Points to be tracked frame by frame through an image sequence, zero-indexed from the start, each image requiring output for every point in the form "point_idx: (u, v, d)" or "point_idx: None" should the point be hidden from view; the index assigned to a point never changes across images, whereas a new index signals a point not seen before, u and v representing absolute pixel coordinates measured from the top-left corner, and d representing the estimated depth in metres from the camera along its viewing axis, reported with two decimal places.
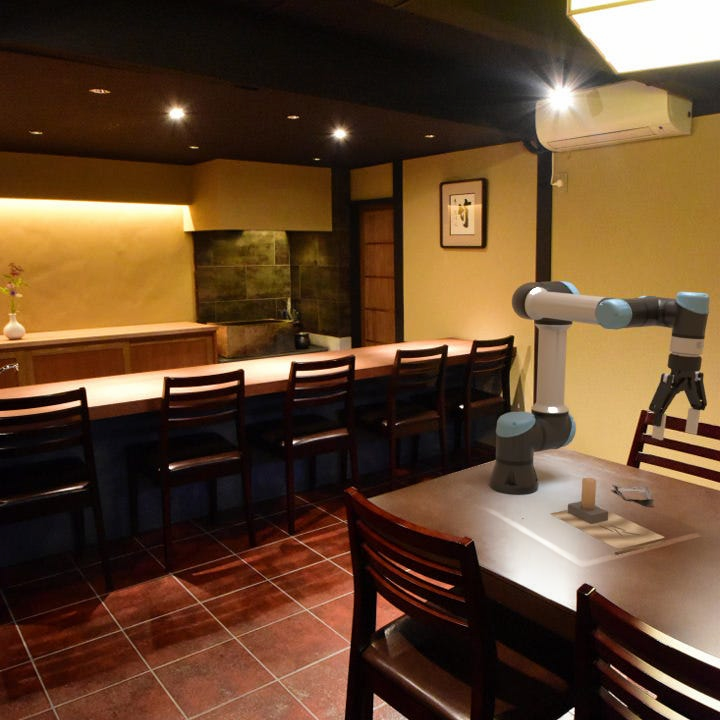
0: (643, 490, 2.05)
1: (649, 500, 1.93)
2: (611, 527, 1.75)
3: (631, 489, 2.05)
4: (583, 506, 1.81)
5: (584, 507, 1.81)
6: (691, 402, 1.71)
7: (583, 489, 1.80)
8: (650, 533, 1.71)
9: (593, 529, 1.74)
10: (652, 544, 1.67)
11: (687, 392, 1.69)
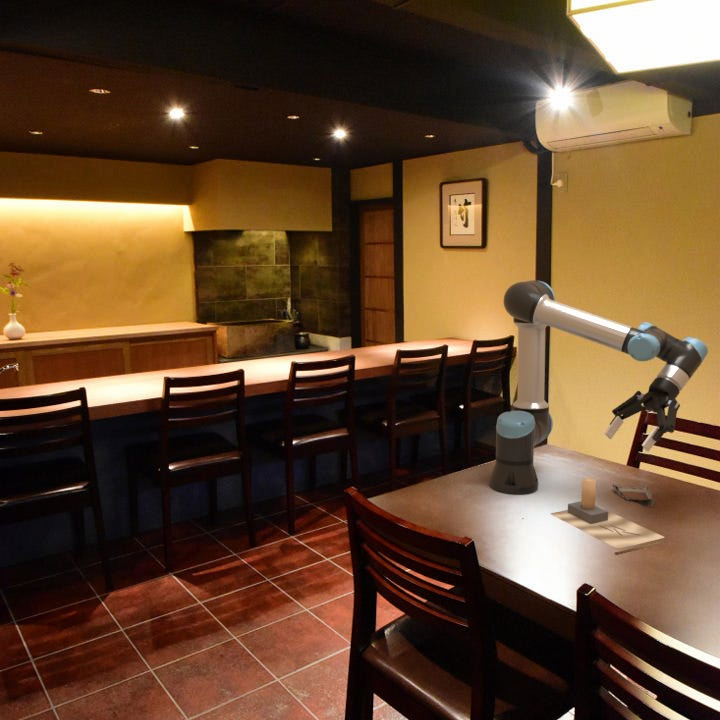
0: (643, 490, 2.05)
1: (649, 500, 1.93)
2: (611, 527, 1.75)
3: (631, 489, 2.05)
4: (583, 506, 1.81)
5: (584, 507, 1.81)
6: (624, 413, 1.91)
7: (583, 489, 1.80)
8: (650, 533, 1.71)
9: (593, 529, 1.74)
10: (652, 544, 1.67)
11: (637, 408, 1.89)
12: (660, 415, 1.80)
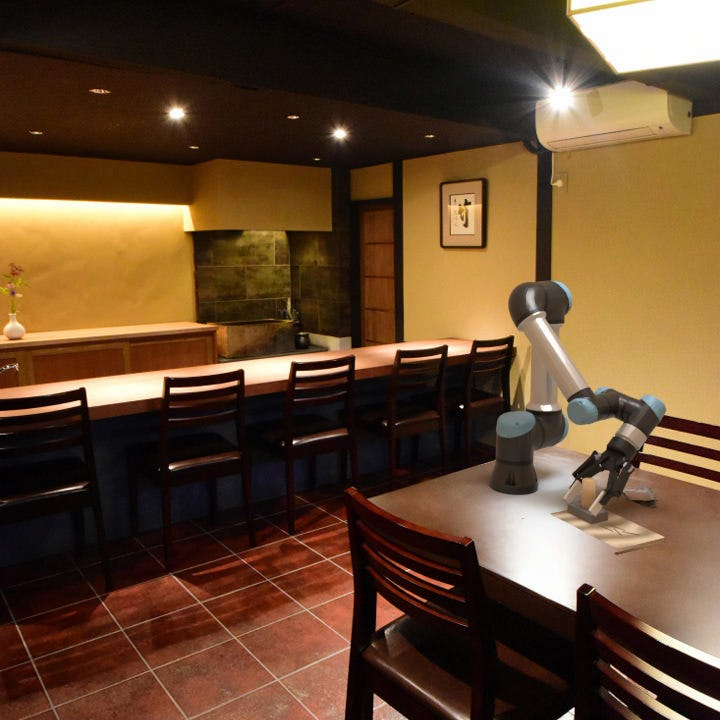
0: (646, 490, 2.04)
1: (653, 500, 1.92)
2: (611, 527, 1.75)
3: (634, 489, 2.05)
4: (583, 506, 1.81)
5: (584, 507, 1.81)
6: (584, 476, 1.86)
7: (583, 489, 1.80)
8: (650, 533, 1.71)
9: (593, 529, 1.74)
10: (652, 544, 1.67)
11: (596, 469, 1.85)
12: (611, 478, 1.78)
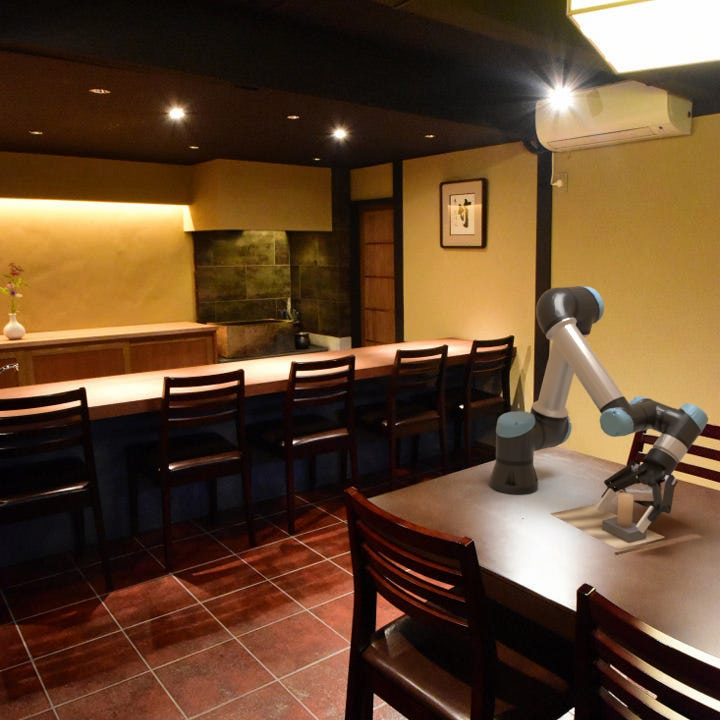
0: (651, 491, 2.04)
1: None
2: None
3: (639, 490, 2.04)
4: (619, 523, 1.69)
5: (620, 524, 1.69)
6: (617, 486, 1.76)
7: (620, 505, 1.69)
8: (650, 533, 1.71)
9: (593, 529, 1.74)
10: (652, 544, 1.67)
11: (631, 480, 1.74)
12: (656, 492, 1.65)
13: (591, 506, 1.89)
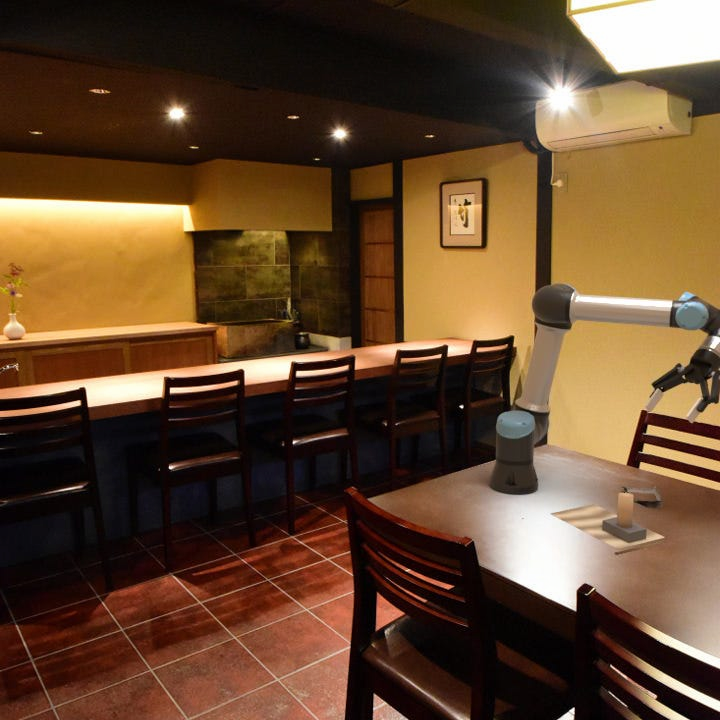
0: (652, 491, 2.04)
1: (658, 501, 1.91)
2: None
3: (640, 490, 2.04)
4: (619, 523, 1.69)
5: (620, 524, 1.69)
6: (665, 386, 1.87)
7: (620, 505, 1.69)
8: (650, 533, 1.71)
9: (593, 529, 1.74)
10: (652, 544, 1.67)
11: (678, 380, 1.85)
12: (704, 386, 1.77)
13: (591, 506, 1.89)
